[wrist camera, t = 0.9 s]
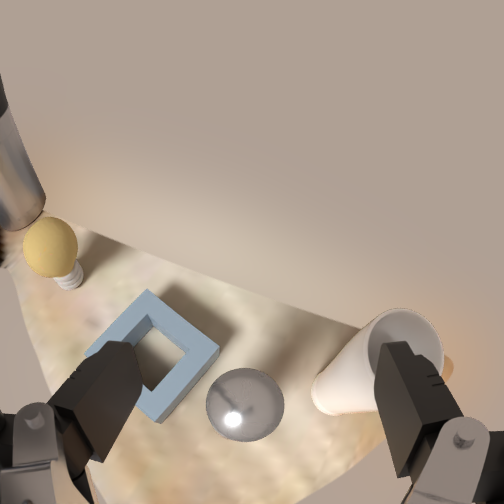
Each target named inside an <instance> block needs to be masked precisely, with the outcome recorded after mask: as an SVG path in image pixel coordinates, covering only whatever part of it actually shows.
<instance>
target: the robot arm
mask: <svg viewBox="0 0 504 504" xmlns="http://www.w3.org/2000/svg"><path fill="white" fill-rule="evenodd" d="M45 200H46V196H45V193H44V191H43V188H42V186H41V184H40V182H39V180H38V177H37V175H36V173H35V171H34V168H33V166H32V164H31V162H30V159H29V157H28V155H27V152H26V150H25V147H24V145H23V143H22V140H21V137H20V135H19V132H18V130H17V127H16V124H15V122H14V119H13V116H12V114H11V111H10V108H9V105H8V102H7V99H6V96H5V92H4V88H3V84H2V79H1V76H0V225H1V226H2V227H3V228H4V229H5V230H8V231H16V230H19V229H22V228H24V227H26V226H27V225H29V224H30V223H31V222H33V221H34V220H35V219H36V218H37V217H38V215H39V214H40V213H41V211H42V209H43V207H44V205H45ZM444 383H445V382H444V381H443V379H442V377H441V376H439V372H438V371H437V369H436V367H435V366H434V364H433V363H432V362H431V361H430V360H428V359H427V358H425V357H424V356H423V355H421V354H420V355H414V353H413V351H412V349H411V348H410V346H409V344H408V343H407V342H406V341H397V342H387V343H383V344H382V345H381V348H380V353H379V359H378V365H377V370H376V375H375V380H374V397H375V401H376V405H377V408H378V411H379V414H380V418H381V421H382V424H383V428H384V431H385V435H386V438H387V441H388V445H389V449H390V452H391V456H392V460H393V463H394V467H395V471H396V474H397V478H401V477H406V476H410V477H411V481H412V485H411V486H410V488H409V490H408V492H407V493H406V495H405V497H404V499H403V500H402V502H401V504H471V503H473V502H475V503H476V504H504V431H495V432H494V431H492V432H491V431H488V430H487V428H486V427H485V425H483V424H482V423H481V422H480V421H478V420H476V419H474V418H470V417H464V415H463V414H462V412H461V410H460V408H459V406H458V405H457V403H456V401H455V399H454V398H453V396H452V394H451V392H450V391H449V389H448V387H447V386H446V385H445V384H444ZM142 388H143V382H142V377H141V373H140V370H139V367H138V363H137V360H136V356H135V353H134V349H133V347H132V345H131V343H129V342H122V341H112V340H109V341H107V342H106V343H105V344H104V345H103V346H102V348H101V349H100V350H99V351H98V352H97V353H94V354H93V355H91V356H90V357H88V358H86V359H85V360H83V362H82V363H81V364H80V365H79V366H78V367H77V368H76V371H74V372H73V373H72V374H71V375H70V378H68V379H67V380H66V381H65V382H64V383H63V384H62V386H61V387H60V388H59V389H58V390H57V391H56V393H55V394H54V395H53V396H52V397H51V399H50V400H49V401H48V402H47V403H46V404H45V403H38V402H37V403H32V404H29V405H26V406H24V407H23V408H22V409H21V410H19V412H18V413H17V414H3V413H2V412H1V410H0V504H99V502H98V499H97V495H96V492H95V489H94V486H93V482H92V478H91V474H90V471H89V468H88V466H87V465H86V464H87V463H88V461H89V459H91V460H94V461H98V462H101V463H103V462H104V461H105V459H106V457H107V455H108V453H109V451H110V450H111V448H112V446H113V444H114V442H115V440H116V439H117V437H118V435H119V433H120V431H121V430H122V428H123V426H124V424H125V422H126V421H127V419H128V417H129V415H130V413H131V412H132V410H133V408H134V406H135V404H136V403H137V401H138V399H139V397H140V395H141V393H142Z"/></svg>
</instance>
